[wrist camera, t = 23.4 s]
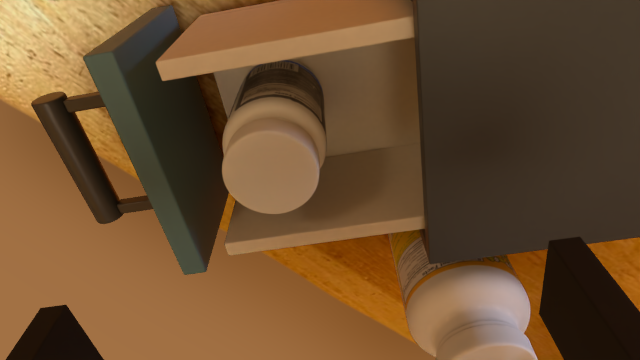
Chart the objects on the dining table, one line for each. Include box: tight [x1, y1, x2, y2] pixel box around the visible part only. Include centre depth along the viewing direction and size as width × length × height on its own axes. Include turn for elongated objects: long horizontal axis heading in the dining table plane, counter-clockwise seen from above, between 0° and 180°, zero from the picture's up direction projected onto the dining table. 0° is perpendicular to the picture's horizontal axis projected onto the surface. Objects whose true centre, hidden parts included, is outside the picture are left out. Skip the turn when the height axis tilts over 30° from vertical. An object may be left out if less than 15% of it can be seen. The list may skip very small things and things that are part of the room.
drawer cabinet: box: [411, 0, 640, 264], centre depth 21 cm, size 16×13×10 cm
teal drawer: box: [31, 0, 425, 275], centre depth 23 cm, size 19×11×8 cm, turn 100°
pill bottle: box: [222, 59, 327, 214], centre depth 21 cm, size 5×5×8 cm
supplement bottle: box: [388, 229, 538, 360], centre depth 27 cm, size 7×7×13 cm
